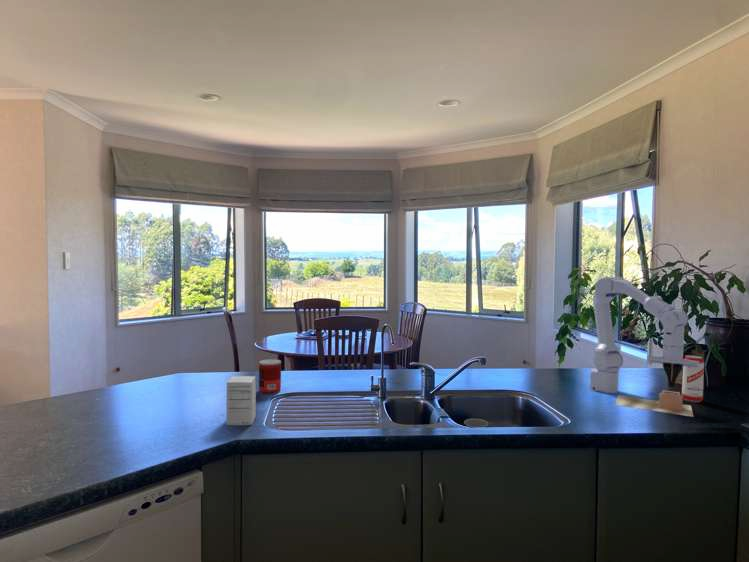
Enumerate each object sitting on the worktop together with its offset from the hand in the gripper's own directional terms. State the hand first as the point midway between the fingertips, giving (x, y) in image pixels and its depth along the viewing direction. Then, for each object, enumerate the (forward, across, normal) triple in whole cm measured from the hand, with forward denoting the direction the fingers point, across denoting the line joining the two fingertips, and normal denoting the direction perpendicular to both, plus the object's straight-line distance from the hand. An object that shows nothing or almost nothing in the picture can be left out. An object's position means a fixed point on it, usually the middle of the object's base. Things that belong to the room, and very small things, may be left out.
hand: (671, 386), depth 155 cm
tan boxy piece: (+7, 0, 0) cm, 7 cm away
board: (+8, -5, 0) cm, 10 cm away
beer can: (+9, +7, +20) cm, 23 cm away
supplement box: (+9, -109, -86) cm, 139 cm away
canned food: (+9, -125, -58) cm, 138 cm away
